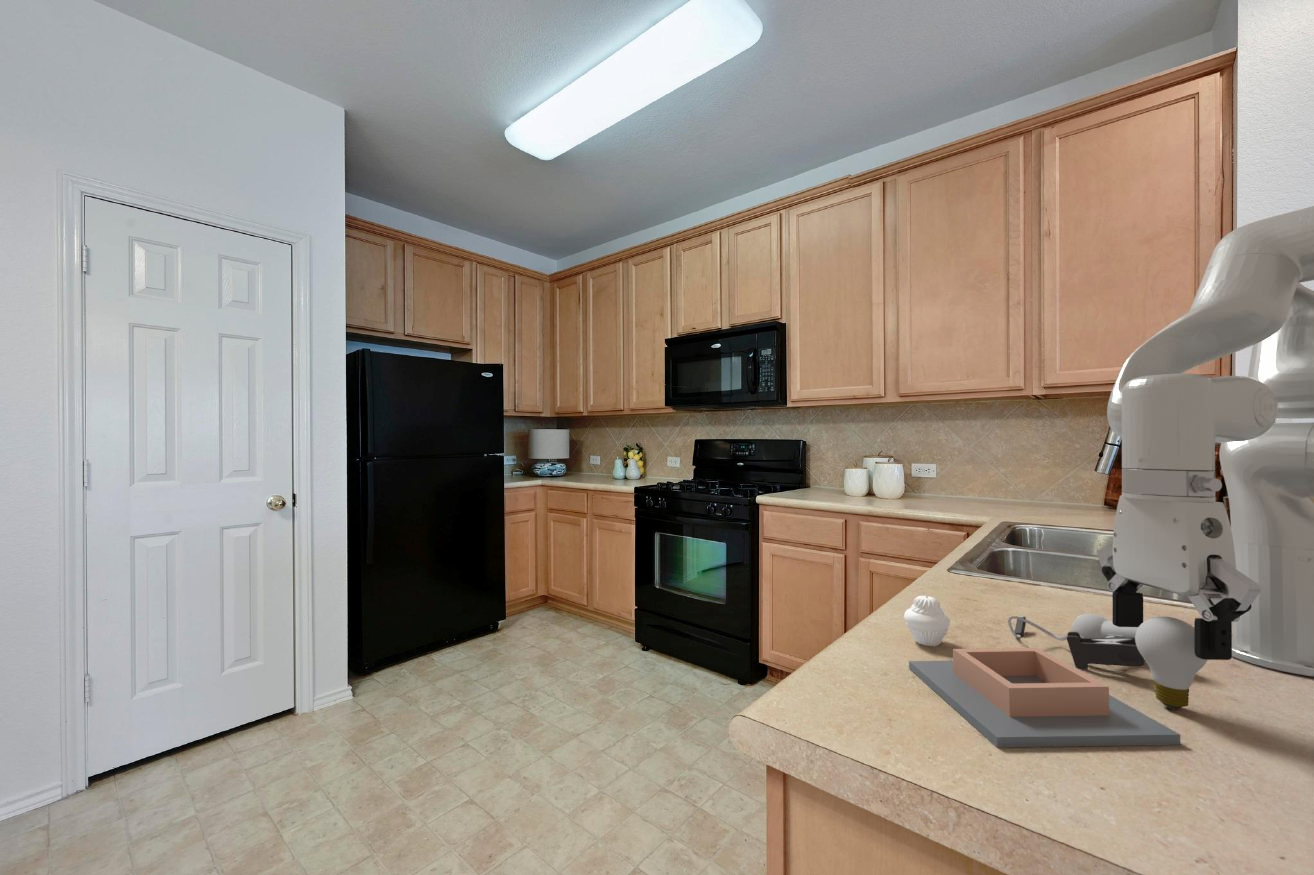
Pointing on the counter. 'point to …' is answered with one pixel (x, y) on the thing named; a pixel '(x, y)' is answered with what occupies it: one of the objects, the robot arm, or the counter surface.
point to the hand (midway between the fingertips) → (1167, 641)
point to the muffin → (927, 621)
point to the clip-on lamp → (1094, 641)
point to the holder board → (1036, 701)
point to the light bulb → (1169, 658)
